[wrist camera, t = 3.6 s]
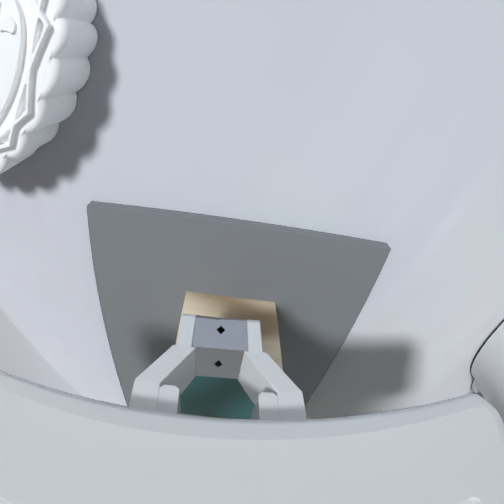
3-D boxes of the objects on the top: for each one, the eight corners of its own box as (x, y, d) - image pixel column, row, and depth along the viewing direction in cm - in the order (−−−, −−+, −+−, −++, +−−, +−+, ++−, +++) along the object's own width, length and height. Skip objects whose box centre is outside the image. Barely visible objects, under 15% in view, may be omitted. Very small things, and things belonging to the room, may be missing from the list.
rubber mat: (386, 243, 16) (391, 249, 15) (285, 427, 28) (285, 432, 28) (91, 201, 14) (86, 206, 14) (132, 411, 26) (131, 416, 26)
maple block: (275, 302, 17) (283, 375, 13) (258, 355, 20) (261, 421, 16) (186, 291, 17) (171, 364, 12) (184, 347, 19) (174, 412, 15)
